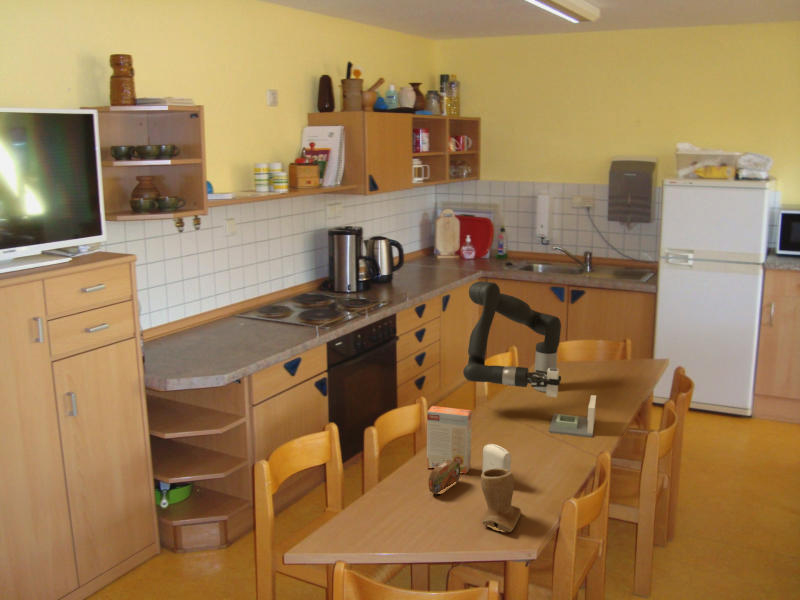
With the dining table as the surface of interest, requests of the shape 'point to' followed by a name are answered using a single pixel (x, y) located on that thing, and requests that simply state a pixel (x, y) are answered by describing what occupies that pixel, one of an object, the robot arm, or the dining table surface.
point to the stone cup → (499, 499)
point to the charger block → (552, 389)
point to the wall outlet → (575, 422)
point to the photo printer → (496, 457)
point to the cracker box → (449, 437)
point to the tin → (444, 476)
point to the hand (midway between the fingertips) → (560, 380)
